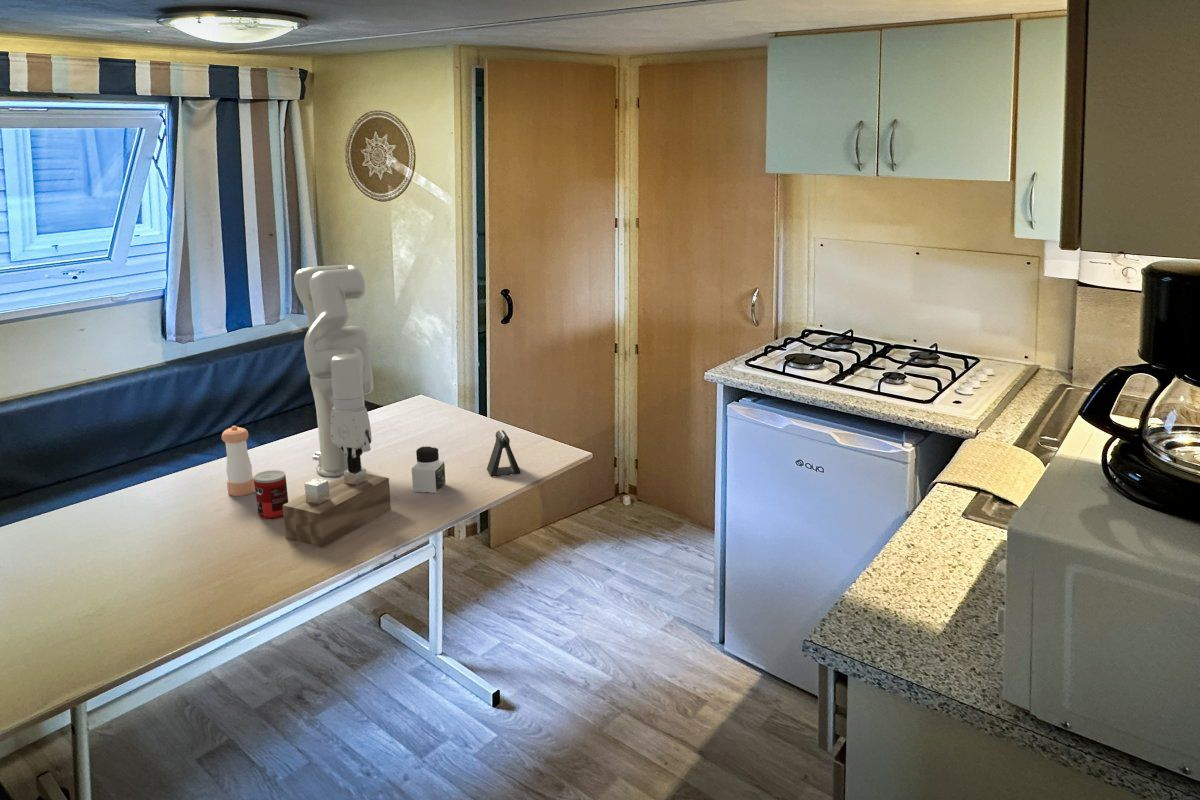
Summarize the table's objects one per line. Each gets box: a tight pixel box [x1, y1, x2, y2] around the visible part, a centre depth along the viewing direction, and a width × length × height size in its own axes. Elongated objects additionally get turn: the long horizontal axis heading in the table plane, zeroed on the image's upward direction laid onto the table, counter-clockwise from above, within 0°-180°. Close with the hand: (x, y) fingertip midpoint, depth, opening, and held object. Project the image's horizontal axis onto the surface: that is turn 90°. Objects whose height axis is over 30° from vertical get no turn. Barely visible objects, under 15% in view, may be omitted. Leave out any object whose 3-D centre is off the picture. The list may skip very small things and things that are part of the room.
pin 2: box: [344, 467, 367, 486], centre depth 251 cm, size 4×4×8 cm
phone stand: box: [486, 429, 522, 478], centre depth 281 cm, size 9×6×12 cm, turn 106°
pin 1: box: [304, 477, 330, 506], centre depth 239 cm, size 4×4×8 cm
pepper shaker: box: [221, 425, 255, 497], centre depth 267 cm, size 7×7×19 cm
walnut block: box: [282, 473, 392, 549], centre depth 246 cm, size 12×26×9 cm, turn 153°
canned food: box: [253, 469, 289, 521], centre depth 252 cm, size 8×8×11 cm
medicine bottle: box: [411, 445, 446, 494], centre depth 269 cm, size 7×7×12 cm
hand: (354, 470), depth 250 cm, fingers closed
